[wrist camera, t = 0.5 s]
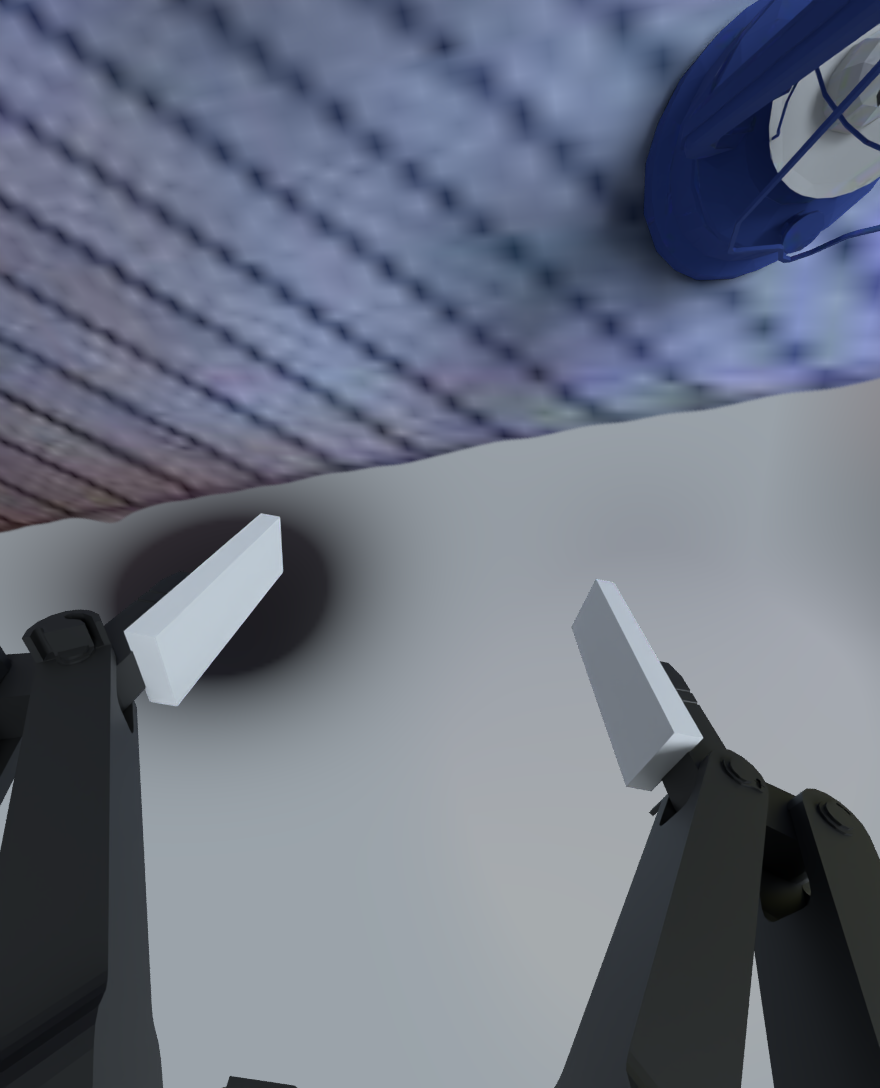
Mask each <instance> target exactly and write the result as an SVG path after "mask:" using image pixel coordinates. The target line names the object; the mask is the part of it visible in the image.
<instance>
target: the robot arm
mask: <svg viewBox="0 0 880 1088" xmlns="http://www.w3.org/2000/svg"><path fill="white" fill-rule="evenodd" d="M282 572H283V566H282V545H281V526H280V517H277V516H272V515H267V514H262V513H261V514H260V515H259V516H257V517H256V518H255V519H254V520H253V521H252V522H250V523H249V524H248V525H247V526H246V527H245V528H243V529H242V530H241V531H240V532H239V533H238V534H236V535H235V536H234V537H233V538H232V539H231V540H229V541H228V542H227V543H226V544H225V545H224V546H222V547H221V548H220V549H219V550H218V551H217V552H215V553H214V554H213V555H212V556H211V557H210V558H208V559H207V560H206V561H205V562H204V563H203V564H201V565H200V566H199V567H198V568H197V569H196V570H194V571H193V572H192V573H187V572H181V571H180V572H178V573H175V574H173V575H171V576H169V577H167V578H164V579H162V580H161V581H160V582H158V583H157V584H156V585H155V586H153V587H152V588H151V589H150V590H149V592H146V593H145V594H143V595H142V596H141V597H140V598H138V601H135V602H133V603H132V604H131V605H130V606H128V607H127V608H126V609H125V610H123V611H122V612H121V613H120V614H118V615H117V616H116V617H115V618H113V619H112V620H111V621H110V622H108V623H107V624H106V625H105V626H103V623H102V621H101V619H100V616H99V614H97V613H95V612H92V611H89V610H72V611H65V612H62V613H58V614H55V615H51V616H49V617H47V618H45V619H43V620H41V621H39V622H37V623H36V624H34V625H33V626H32V627H30V628H29V629H28V630H27V631H26V633H25V634H24V636H23V637H22V639H23V641H24V643H25V645H26V646H27V648H28V650H29V651H30V653H24V654H23V653H22V654H8V655H6V654H5V653H4V651H3V650H2V648H1V647H0V805H1V803H2V801H3V799H4V797H5V795H6V793H7V791H8V789H9V787H10V785H11V783H12V781H13V779H14V783H13V788H12V793H11V799H10V804H9V809H8V814H7V819H6V824H5V829H4V835H3V841H2V845H1V850H0V1088H163V1081H162V1068H161V1057H160V1050H159V1044H158V1039H157V1035H156V1031H155V1027H154V1022H153V1017H152V1004H151V984H150V964H149V944H148V924H147V904H146V884H145V863H144V845H143V844H144V843H143V825H142V804H141V785H140V784H141V783H140V764H139V744H138V723H137V707H136V704H135V702H134V700H135V699H136V698H137V697H138V696H139V695H140V693H141V692H142V691H143V690H144V689H145V690H146V692H147V695H148V698H149V700H150V702H155V703H161V704H166V705H172V706H178V705H179V704H180V702H181V701H182V700H183V698H184V697H185V696H186V695H187V693H188V692H189V691H190V690H191V688H192V687H193V686H194V684H195V683H196V682H197V680H198V679H199V678H200V677H201V676H202V674H203V673H204V672H205V670H206V669H207V668H208V667H209V665H210V664H211V663H212V661H213V660H214V659H215V658H216V656H217V655H218V654H219V652H220V651H221V650H222V649H223V647H224V646H225V645H226V643H227V642H228V641H229V640H230V639H231V637H232V636H233V635H234V634H235V632H236V631H237V630H238V628H239V627H240V626H241V625H242V623H243V622H244V621H245V620H246V618H247V617H248V616H249V614H250V613H251V612H252V611H253V609H254V608H255V607H256V606H257V604H258V603H259V602H260V601H261V599H262V598H263V597H264V595H265V594H266V593H267V591H268V590H269V589H270V588H271V587H272V585H273V584H274V583H275V581H276V580H277V579H278V578H279V576H280V575H281V574H282ZM572 630H573V633H574V636H575V639H576V642H577V645H578V648H579V650H580V653H581V656H582V659H583V662H584V665H585V668H586V671H587V674H588V677H589V680H590V683H591V685H592V688H593V691H594V694H595V697H596V700H597V703H598V706H599V709H600V712H601V715H602V717H603V720H604V723H605V726H606V729H607V732H608V735H609V738H610V741H611V743H612V747H613V749H614V752H615V755H616V758H617V761H618V764H619V767H620V770H621V773H622V775H623V778H624V781H625V784H626V787H631V788H637V789H643V790H648V791H652V790H653V789H654V788H655V787H656V786H657V785H658V784H659V783H660V782H661V781H663V784H664V786H665V788H666V791H667V793H668V794H667V795H666V796H665V797H664V798H663V799H662V800H661V801H660V802H659V803H658V804H657V805H656V806H655V807H654V808H653V809H652V810H651V811H650V812H649V813H650V814H651V815H655V814H656V813H657V812H658V813H657V816H656V818H655V821H654V824H653V826H652V829H651V832H650V835H649V837H648V840H647V843H646V846H645V848H644V851H643V854H642V856H641V859H640V862H639V865H638V867H637V870H636V873H635V875H634V878H633V881H632V884H631V887H630V889H629V892H628V895H627V897H626V900H625V903H624V906H623V908H622V911H621V914H620V916H619V919H618V922H617V925H616V927H615V930H614V933H613V936H612V938H611V941H610V944H609V946H608V949H607V952H606V955H605V957H604V960H603V963H602V966H601V968H600V971H599V974H598V977H597V979H596V982H595V985H594V988H593V990H592V993H591V996H590V999H589V1001H588V1004H587V1007H586V1009H585V1012H584V1015H583V1017H582V1020H581V1023H580V1026H579V1029H578V1031H577V1034H576V1037H575V1039H574V1042H573V1045H572V1048H571V1051H570V1053H569V1056H568V1058H567V1061H566V1064H565V1067H564V1069H563V1072H562V1074H561V1076H560V1079H559V1080H558V1082H557V1084H556V1086H555V1087H554V1088H741V1079H742V1070H743V1059H744V1049H745V1039H746V1028H747V1017H748V1008H749V996H750V987H751V976H752V966H753V956H754V952H755V958H756V965H757V971H758V979H759V985H760V993H761V1000H762V1006H763V1014H764V1020H765V1027H766V1033H767V1041H768V1048H769V1054H770V1062H771V1068H772V1075H773V1082H774V1088H880V859H879V857H878V854H877V852H876V850H875V847H874V845H873V843H872V840H871V838H870V836H869V835H868V833H867V831H866V830H865V828H864V826H863V825H862V823H861V822H860V821H859V820H858V819H857V818H856V817H855V816H854V815H853V813H852V812H851V811H849V810H848V809H847V808H846V807H845V806H844V805H842V804H841V803H840V802H839V801H837V800H835V799H834V798H832V797H831V796H829V795H828V794H826V793H824V792H821V791H819V790H816V789H805V790H804V791H802V792H801V793H800V794H798V795H797V796H794V795H792V794H790V793H788V792H785V791H783V790H781V789H779V788H777V787H775V786H773V785H770V784H768V783H766V782H765V781H764V779H763V777H762V776H761V774H760V773H759V772H758V771H757V770H756V769H755V768H754V766H753V765H751V764H750V763H749V762H748V761H747V760H745V759H744V758H743V757H742V756H740V755H738V754H736V753H735V752H733V751H731V750H727V749H726V748H725V746H724V744H723V743H722V741H721V740H720V738H719V736H718V735H717V733H716V731H715V730H714V728H713V727H712V725H711V723H710V722H709V720H708V718H707V717H706V715H705V714H704V712H703V710H702V709H701V707H700V705H697V701H696V699H695V697H694V696H693V694H692V693H690V689H689V688H688V686H687V684H686V683H685V681H684V679H683V678H682V676H681V675H680V674H679V673H678V672H677V671H676V670H675V669H674V668H673V667H672V666H671V665H670V664H669V663H665V662H661V661H659V660H658V658H657V656H656V655H655V653H654V651H653V650H652V648H651V646H650V644H649V643H648V641H647V639H646V637H645V636H644V634H643V632H642V630H641V629H640V627H639V625H638V623H637V622H636V620H635V618H634V617H633V615H632V613H631V611H630V610H629V608H628V606H627V604H626V603H625V601H624V599H623V598H622V596H621V594H620V592H619V590H618V589H617V587H616V585H615V583H614V582H609V581H604V580H599V579H596V580H595V582H594V584H593V586H592V588H591V590H590V592H589V594H588V596H587V598H586V600H585V602H584V603H583V605H582V608H581V609H580V612H579V614H578V615H577V617H576V620H575V621H574V623H573V625H572ZM223 1088H297V1087H296V1086H293V1085H287V1084H280V1083H273V1082H267V1081H260V1080H253V1079H246V1078H240V1077H232V1076H230V1077H229V1080H228V1084H227V1087H223Z"/></svg>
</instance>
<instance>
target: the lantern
mask: <svg viewBox="0 0 880 1088" xmlns="http://www.w3.org/2000/svg"><path fill="white" fill-rule="evenodd" d="M879 178H880V0H758V1H757V2H755V3H754V4H752V5H751V6H749V7H748V8H746V9H745V10H744V11H743V12H741V13H740V14H739V15H738V16H737V17H736V18H735V19H734V20H733V21H732V22H730V23H729V24H728V25H727V26H726V27H725V28H724V29H723V30H722V31H721V32H720V33H719V34H718V35H717V36H716V37H715V38H714V39H713V40H712V41H711V43H710V44H709V45H708V46H707V47H706V49H705V50H704V51H703V52H702V53H701V55H700V56H699V57H698V58H697V60H696V61H695V62H694V63H693V65H692V66H691V67H690V68H689V69H688V71H687V72H686V73H685V74H684V76H683V77H682V78H681V79H680V81H679V83H678V85H677V87H676V89H675V91H674V93H673V95H672V97H671V99H670V101H669V103H668V105H667V107H666V109H665V111H664V113H663V115H662V117H661V119H660V121H659V123H658V125H657V128H656V131H655V134H654V138H653V141H652V144H651V148H650V151H649V154H648V158H647V161H646V166H645V191H644V216H645V219H646V222H647V225H648V228H649V231H650V234H651V237H652V240H653V243H654V246H655V249H656V251H657V252H658V253H659V254H660V255H661V257H662V258H663V259H664V260H665V261H666V262H667V263H668V264H669V265H670V266H671V267H672V268H673V269H674V270H675V271H678V272H680V273H682V274H684V275H687V276H689V277H691V278H693V279H696V280H715V279H733V278H736V277H739V276H741V275H744V274H747V273H750V272H753V271H756V270H759V269H761V268H763V267H765V266H767V265H769V264H771V263H773V262H776V261H777V260H779V261H781V262H783V263H787V262H792V261H795V260H798V259H801V258H804V257H807V256H810V255H812V254H814V253H817V252H819V251H821V250H823V249H826V248H828V247H830V246H832V245H835V244H837V243H839V242H841V241H844V240H846V239H848V238H852V237H856V236H860V235H865V234H869V233H873V232H877V231H880V225H878V226H873V227H869V228H865V229H861V230H857V231H854V232H850V233H847V234H844V235H842V236H840V237H838V238H836V239H834V240H831V241H829V242H827V243H825V244H823V245H820V246H818V247H816V248H814V249H812V250H809V251H806V252H803V253H801V254H798V255H795V256H792V257H789V256H786V254H788V253H793V252H796V251H800V250H802V249H803V248H804V247H806V246H807V245H808V244H810V243H811V242H812V241H813V240H814V239H815V238H816V237H817V236H818V234H819V233H820V231H822V230H824V229H825V228H827V227H829V226H830V225H831V224H832V223H833V222H835V221H836V220H837V219H838V218H839V217H840V216H842V215H843V214H844V213H845V212H846V211H847V210H849V209H850V208H851V207H852V206H853V205H854V204H855V203H857V202H858V201H859V200H860V199H861V198H862V197H864V196H865V195H866V194H867V193H868V192H869V191H871V189H872V188H873V186H874V185H875V184H876V182H877V181H878V180H879Z"/></svg>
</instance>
